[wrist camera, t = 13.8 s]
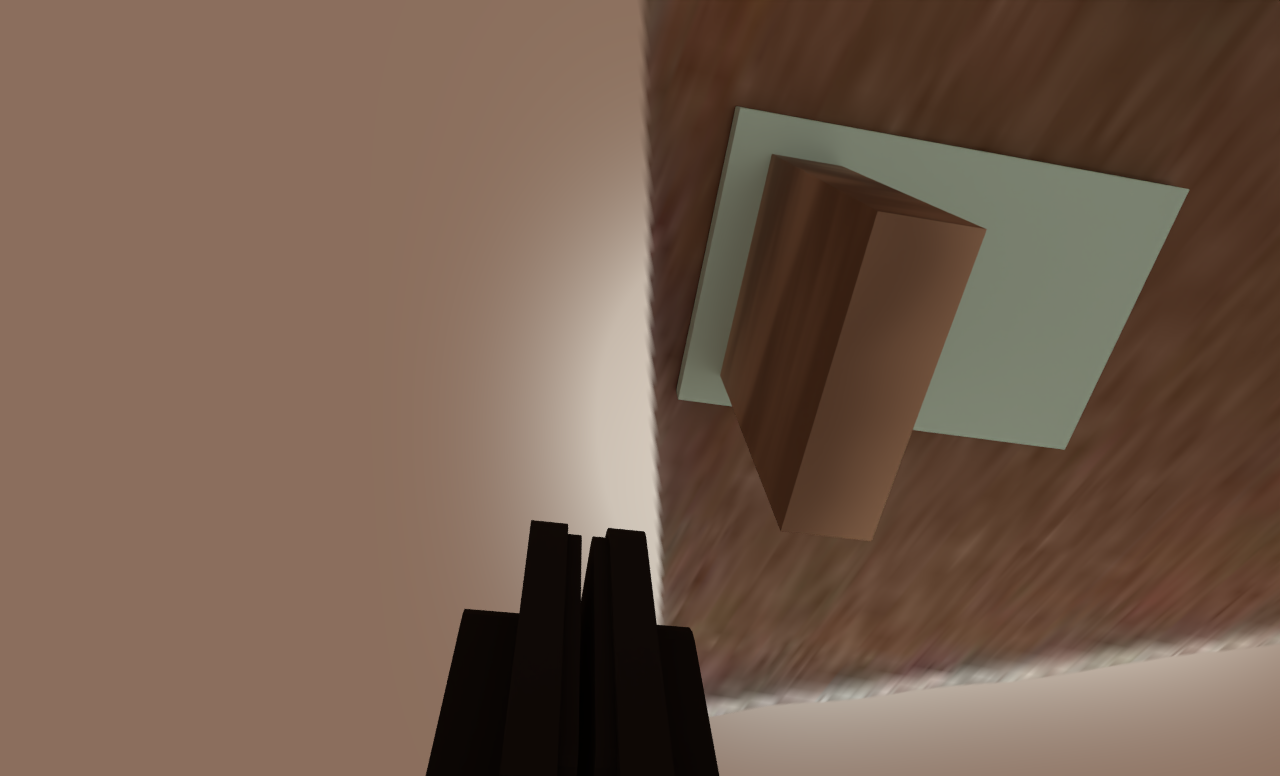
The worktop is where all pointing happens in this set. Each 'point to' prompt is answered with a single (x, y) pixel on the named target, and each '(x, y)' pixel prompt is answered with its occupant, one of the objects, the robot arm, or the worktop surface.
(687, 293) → the worktop surface
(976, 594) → the worktop surface
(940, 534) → the worktop surface
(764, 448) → the board
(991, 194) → the plate
